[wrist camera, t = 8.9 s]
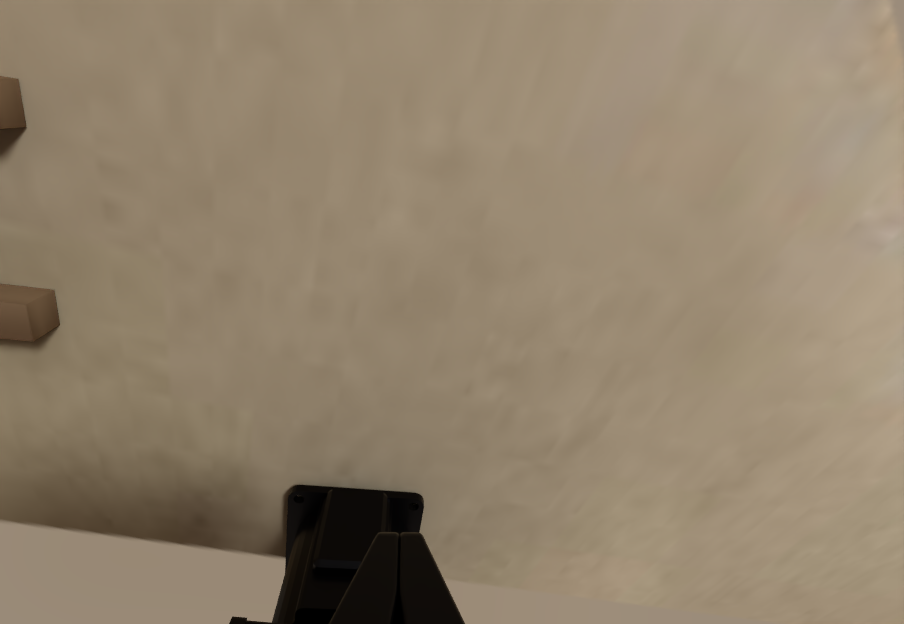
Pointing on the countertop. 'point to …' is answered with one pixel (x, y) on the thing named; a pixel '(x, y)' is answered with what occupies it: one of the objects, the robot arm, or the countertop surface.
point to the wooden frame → (20, 306)
